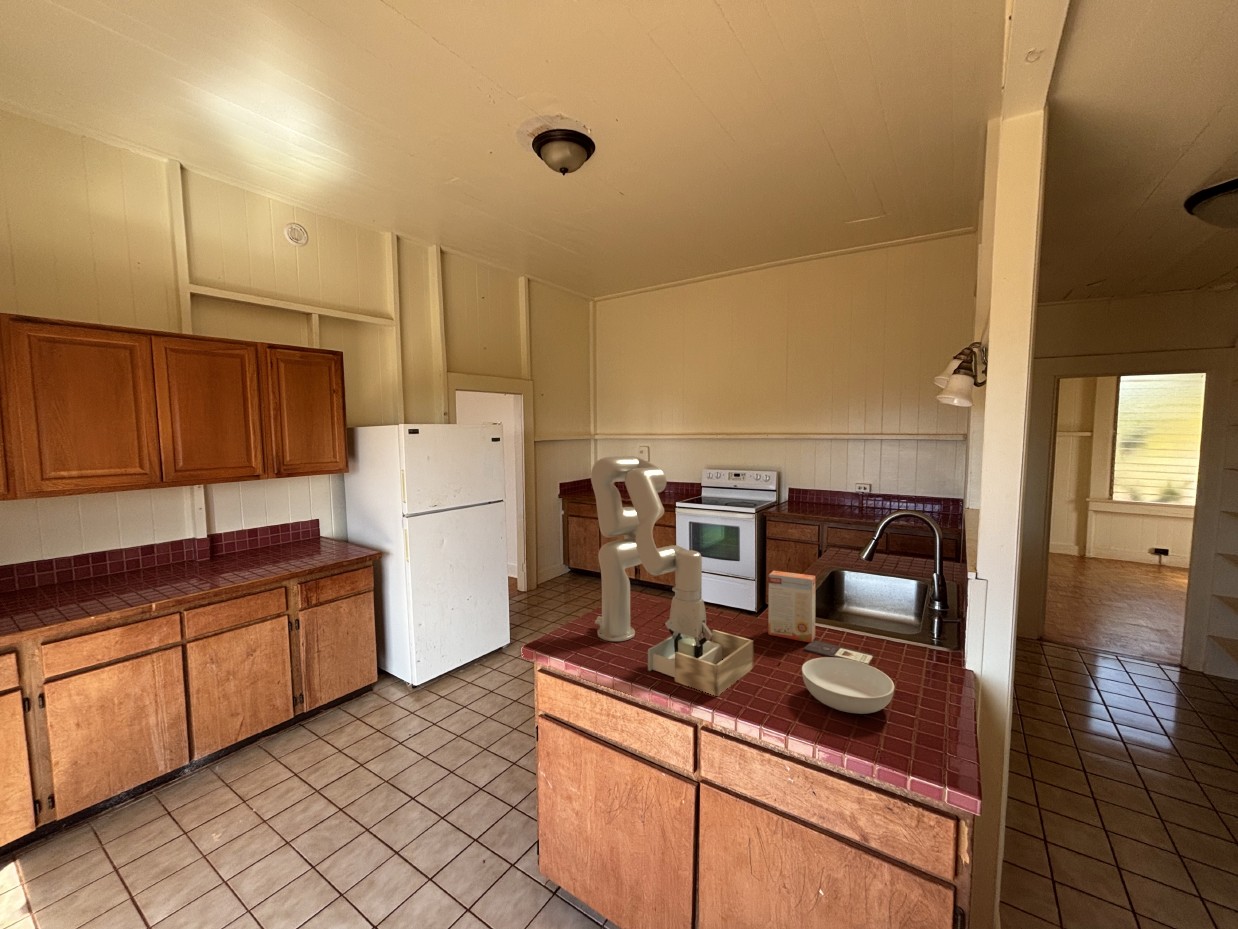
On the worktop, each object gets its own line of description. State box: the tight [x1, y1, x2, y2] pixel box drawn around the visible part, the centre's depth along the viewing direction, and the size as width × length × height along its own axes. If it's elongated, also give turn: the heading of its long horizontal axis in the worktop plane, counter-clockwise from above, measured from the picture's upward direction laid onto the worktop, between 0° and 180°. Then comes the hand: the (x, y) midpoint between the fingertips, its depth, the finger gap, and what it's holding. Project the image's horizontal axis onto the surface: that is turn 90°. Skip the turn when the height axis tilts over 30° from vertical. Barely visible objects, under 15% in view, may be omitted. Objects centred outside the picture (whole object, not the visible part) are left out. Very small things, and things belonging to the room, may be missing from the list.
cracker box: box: [767, 570, 816, 644], centre depth 164 cm, size 14×6×21 cm, turn 58°
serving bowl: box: [801, 656, 895, 715], centre depth 123 cm, size 21×21×7 cm
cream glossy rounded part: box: [678, 638, 696, 657], centre depth 143 cm, size 6×6×4 cm
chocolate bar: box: [802, 639, 875, 665], centre depth 151 cm, size 9×1×18 cm
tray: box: [647, 634, 723, 678], centre depth 143 cm, size 13×21×6 cm, turn 140°
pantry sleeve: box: [674, 629, 754, 697], centre depth 138 cm, size 13×21×8 cm, turn 140°
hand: (688, 654), depth 143 cm, fingers closed on cream glossy rounded part, 6 cm apart
